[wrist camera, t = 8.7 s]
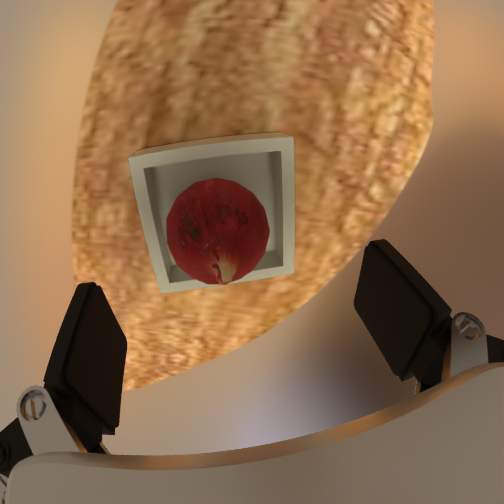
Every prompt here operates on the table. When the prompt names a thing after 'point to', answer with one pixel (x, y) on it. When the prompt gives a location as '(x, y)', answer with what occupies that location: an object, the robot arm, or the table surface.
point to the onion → (217, 231)
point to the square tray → (223, 167)
